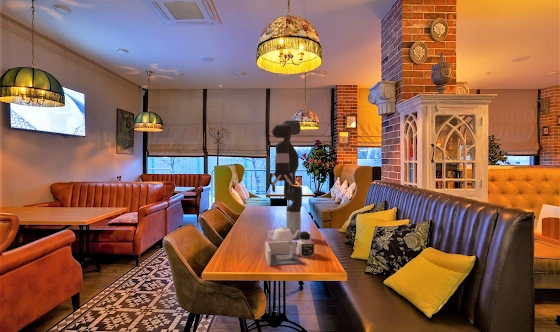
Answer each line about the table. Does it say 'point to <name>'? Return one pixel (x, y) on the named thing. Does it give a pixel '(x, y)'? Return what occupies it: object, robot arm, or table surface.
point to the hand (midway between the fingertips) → (282, 192)
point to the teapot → (282, 234)
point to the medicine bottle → (305, 245)
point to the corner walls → (277, 249)
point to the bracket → (286, 257)
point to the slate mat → (288, 262)
